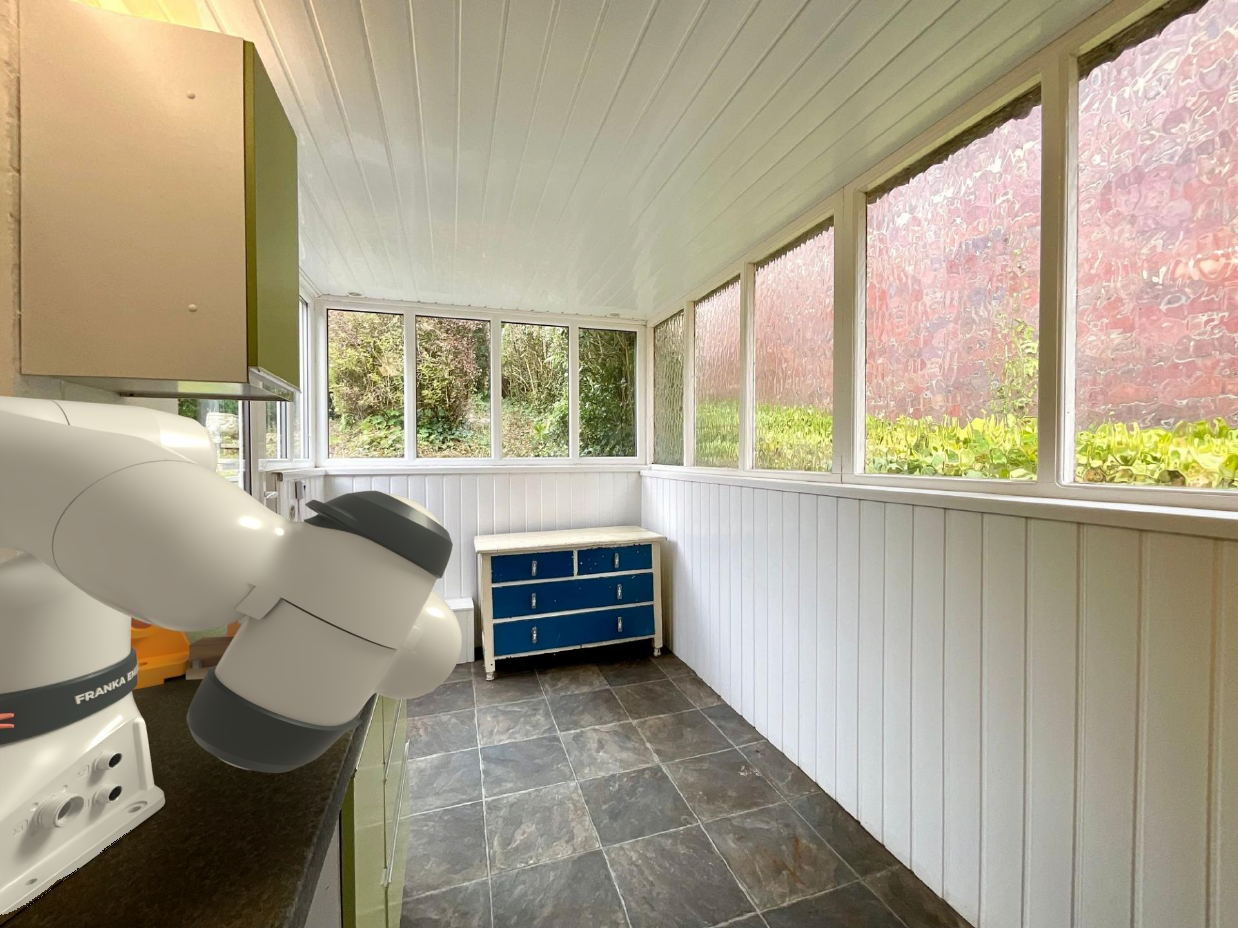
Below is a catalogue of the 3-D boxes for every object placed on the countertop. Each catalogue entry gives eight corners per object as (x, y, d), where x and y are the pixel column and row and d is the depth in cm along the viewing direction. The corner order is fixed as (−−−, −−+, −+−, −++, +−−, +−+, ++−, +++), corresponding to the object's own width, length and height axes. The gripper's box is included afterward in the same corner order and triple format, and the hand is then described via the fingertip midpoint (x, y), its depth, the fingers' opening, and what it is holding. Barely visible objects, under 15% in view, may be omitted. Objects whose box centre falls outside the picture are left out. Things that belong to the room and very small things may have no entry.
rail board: (252, 676, 74) (252, 643, 74) (185, 679, 72) (185, 646, 72) (330, 617, 100) (330, 593, 100) (282, 619, 99) (282, 594, 99)
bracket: (82, 699, 66) (82, 613, 66) (97, 679, 72) (97, 599, 72) (186, 679, 73) (187, 600, 72) (192, 662, 78) (192, 589, 78)
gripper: (301, 634, 72) (196, 638, 69) (355, 595, 92) (275, 597, 90) (301, 592, 71) (196, 595, 69) (355, 562, 92) (275, 563, 90)
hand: (241, 596), depth 80 cm, fingers open, 8 cm apart
